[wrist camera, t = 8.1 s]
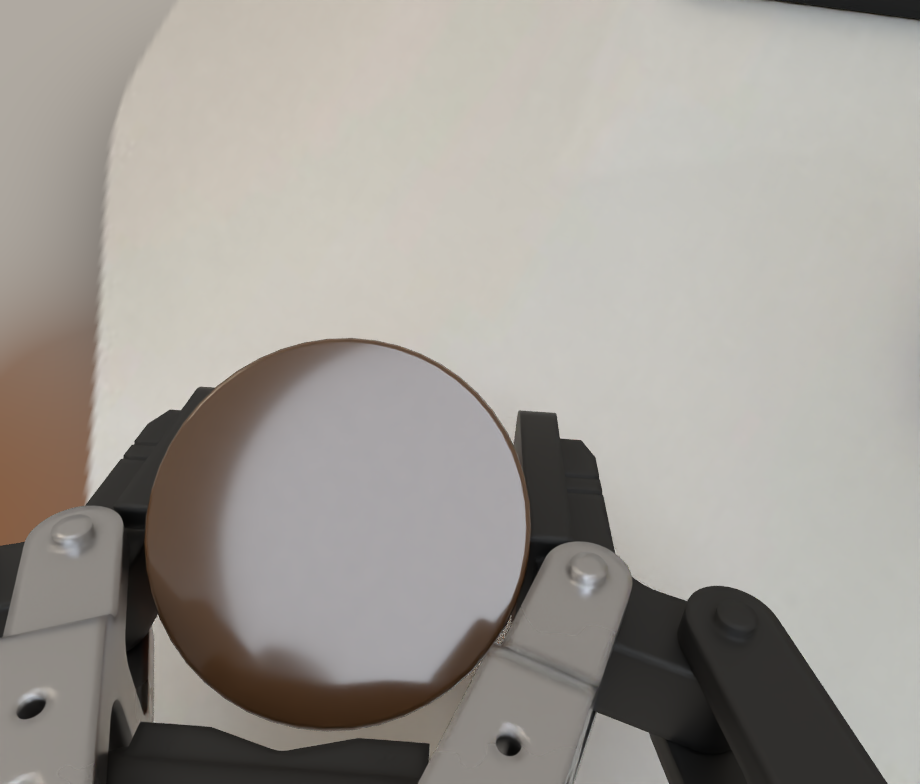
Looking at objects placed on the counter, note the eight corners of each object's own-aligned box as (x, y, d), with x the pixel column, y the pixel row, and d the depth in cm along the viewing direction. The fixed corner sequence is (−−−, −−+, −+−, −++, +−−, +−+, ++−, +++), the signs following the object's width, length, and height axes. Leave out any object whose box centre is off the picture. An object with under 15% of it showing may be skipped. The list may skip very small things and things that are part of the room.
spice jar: (265, 626, 17) (93, 695, 9) (310, 419, 18) (196, 310, 10) (477, 662, 17) (501, 766, 9) (507, 450, 18) (555, 366, 10)
